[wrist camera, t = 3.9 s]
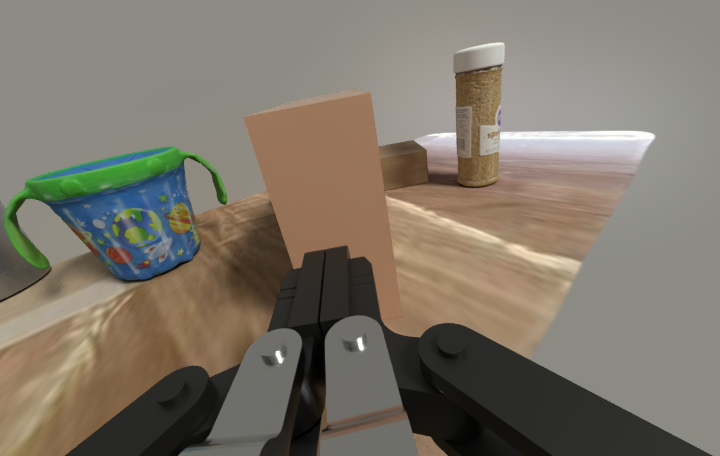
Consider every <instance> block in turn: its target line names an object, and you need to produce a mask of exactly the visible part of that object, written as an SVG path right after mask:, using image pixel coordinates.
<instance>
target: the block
mask: <svg viewBox="0 0 720 456" xmlns="http://www.w3.org/2000/svg"><path fill="white" fill-rule="evenodd" d="M243 118H244V121H245V124H246V127H247V130H248V133H249V136H250V139H251V142H252V145H253V148H254V151H255V154H256V157H257V160H258V163H259V166H260V169H261V172H262V175H263V178H264V181H265V184H266V187H267V190H268V193H269V196H270V200H271V203H272V206H273V209H274V212H275V215H276V218H277V221H278V224H279V227H280V230H281V233H282V236H283V239H284V242H285V245H286V248H287V251H288V254H289V257H290V260H291V263H292V266H293V269H296V268H301V266H302V262H303V257H304V254H305V253H306V252H312V251H317V250H323V249H326V250H327V249H328V248H334V247H339V246H345V245H347V246H348V249H349V253H350V258H351V259H352V258H357V257H363V256H364V257H365V258H366V259H367V260H368V261H369V262H370V263H371V264H372V269H373V274H374V280H375V285H376V291H377V296H378V302H379V307H380V313H381V319H382V320H386V319H391V318H397V317H402V311H401V304H400V297H399V289H398V282H397V275H396V268H395V261H394V254H393V247H392V240H391V233H390V226H389V219H388V212H387V205H386V198H385V191H384V184H383V177H382V170H381V163H380V156H379V149H378V142H377V135H376V128H375V121H374V114H373V108H372V100H371V93H370V92H365V91H361V90H356V89H353V90H348V91H342V92H337V93H332V94H327V95H322V96H317V97H311V98H306V99H301V100H296V101H293V102H290V103H287V104H284V105H280V106H277V107H274V108H271V109H268V110H264V111H261V112H258V113H255V114H251V115H248V116H245V117H243Z"/></svg>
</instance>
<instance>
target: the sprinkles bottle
mask: <svg viewBox="0 0 720 456" xmlns="http://www.w3.org/2000/svg"><path fill="white" fill-rule="evenodd" d="M504 53H505V45H504V43H491V44H485V45H480V46H475V47H471V48H467V49H463V50H461V51H457V52H455V53H454V73H456V76H455V78H456V136H457V155H458V177H457V181H458V182H459V183H460V184H462V185H465V186H470V187H481V186H486V185H489V184H493V183H495V182H496V181H497V180H498V179H499V173H498V160H499V158H498V157H499V148H500V117H501V116H500V114H501V105H500V99H501V71H502V67H501V66H502V65H503V64H504Z"/></svg>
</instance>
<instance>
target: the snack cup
mask: <svg viewBox="0 0 720 456" xmlns="http://www.w3.org/2000/svg"><path fill="white" fill-rule="evenodd" d="M186 158H191V159H193V160H195V161H197V162H199V163H201V164H202V165H203V166H205V167H206V168H207V169H208V170H209V171H210V173H211V174H212V179H213V183H214V186H215V188H216V192H217V198H218V201H219V202H220V203H221V204H224V205H225V204H226V203H227V195H226V192H225V188H224V185H223V182H222V180H221V178H220V176H219V175H218V173H217V172H216V170H215V169H214V168H213V166H212V165H211V164H210V163H209V162H207V161H206V160H205V159H203V158H202V157H200V156H198V155H196V154H192V153H188V152H182V151H180V150H179V149H178V148H177V147H162V148H156V149H150V150H144V151H139V152H134V153H129V154H124V155H119V156H115V157H110V158H106V159H101V160H97V161H93V162H88V163H84V164H80V165H75V166H71V167H68V168H64V169H60V170H56V171H53V172H49V173H46V174H42V175H39V176H37V177H34V178H31V179H29V180H27V181H26V183H25V189H24V190H23V191H21V192H20V193H19V194H17V195H16V196H15V197H14V198H13V199H12V200H11V201H10V202H9V204H8V206H7V208H6V211H5V215H4V224H5V229H6V232H7V235H8V237H9V239H10V241H11V243H12V245H13V246H14V248H15V249H16V251H17V252H18V253H19V254H20V255H21V256H22V257H23V258H24V259H25V260H26V261H27V262H28V263H29V264H31V265H32V266H34V267H36V268H38V269H41V270H45V269H48V268H49V266H50V264H49V261H48V260H47V258H46V257H45V256H44V255H43V254H42V253H41V252H40V251H39V250H38V249H37V248H36V247H35V246H34V245H33V244H32V243H31V242H30V241H29V240H28V238H27V237H26V236H25V235H24V234H23V233H22V232H21V231H20V228H19V224H18V220H17V216H16V212H17V211H18V209H19V208H20V206H21V205H22V204H23V202H24V201H25V200H26V199H36V200H39V201H42V202H44V203H46V204H47V205H48V206H50V207H51V209H52V210H53V211H54V212H55V213H56V214H57V215H58V216H60V217H61V219H62V220H63V221H64V222H65V223H66V224H67V225H68V226H69V227H70V228H71V230H72V231H73V232H74V233H75V234H76V235H77V236H78V237H79V238H80V239H81V240H82V241H83V243H85V245H86V246H87V247H88V248H89V249H90V250H91V251H92V252H93V253H94V254H95V255H96V256H97V257H98V258H99V259H101V260H102V262H104V264H105V265H106V266H107V267H108V269H109V270H110V271H111V272H112V273H113V274H114V275H115V276H117V277H118V278H122V279H126V280H137V279H142V280H144V279H149V278H151V277H153V276H155V275H158V274H161V273H164V272H166V271H168V270H170V269H172V268H173V267H175V266H176V265H178V264H179V263H182V262H185V261H189V260H191V259H192V258H193V254H195V253H196V252H197V251H198V249H199V247H200V244H201V241H200V240H201V238H200V234H199V231H198V227H197V223H196V220H195V216H194V213H193V210H192V206H191V203H190V200H189V196H188V191H187V187H186V180H185V170H184V160H185V159H186Z"/></svg>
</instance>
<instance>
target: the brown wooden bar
mask: <svg viewBox="0 0 720 456" xmlns="http://www.w3.org/2000/svg"><path fill="white" fill-rule="evenodd" d="M378 149H379V156H380V163H381V170H382V177H383V184H384V190H390V189H395V188H401V187H406V186H412V185H417V184H422V183H428V182H429V181H428V167H427V152H426V149H424V148H423V147H422V146H420V145H419V144H418V143H416V142H415V141H414V140H412V141H406V142H401V143H395V144H390V145H385V146H379V147H378Z"/></svg>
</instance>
